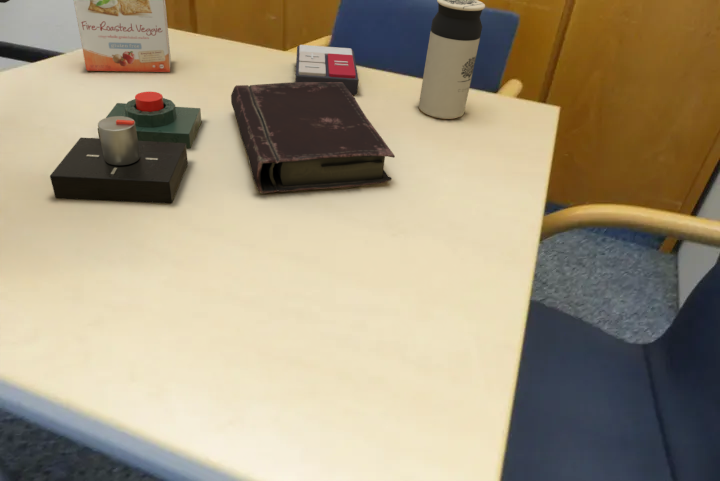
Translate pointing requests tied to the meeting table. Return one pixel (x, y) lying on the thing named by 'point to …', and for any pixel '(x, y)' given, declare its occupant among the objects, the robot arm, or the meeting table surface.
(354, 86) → the calculator
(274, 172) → the diary
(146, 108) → the button
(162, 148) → the knob base
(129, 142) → the hob knob
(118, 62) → the cracker box
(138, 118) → the button base
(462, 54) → the travel mug
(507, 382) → the meeting table surface
